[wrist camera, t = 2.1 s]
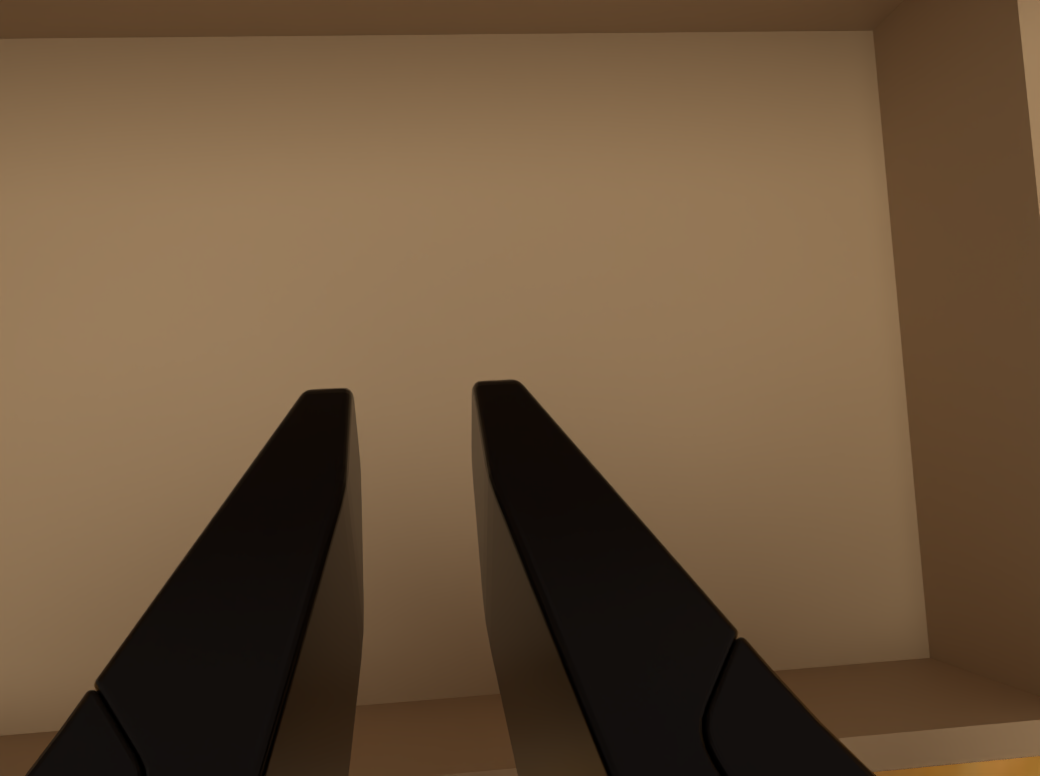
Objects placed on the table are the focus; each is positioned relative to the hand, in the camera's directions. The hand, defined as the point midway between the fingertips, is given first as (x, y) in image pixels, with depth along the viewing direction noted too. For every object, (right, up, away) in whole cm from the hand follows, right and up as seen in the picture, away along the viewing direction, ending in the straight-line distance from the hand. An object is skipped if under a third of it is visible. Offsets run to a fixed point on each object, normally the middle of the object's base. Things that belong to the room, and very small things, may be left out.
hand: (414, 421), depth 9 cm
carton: (-2, +1, +14) cm, 14 cm away
